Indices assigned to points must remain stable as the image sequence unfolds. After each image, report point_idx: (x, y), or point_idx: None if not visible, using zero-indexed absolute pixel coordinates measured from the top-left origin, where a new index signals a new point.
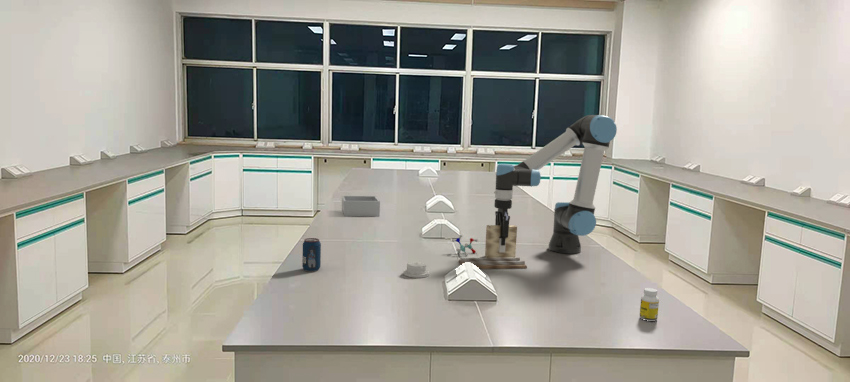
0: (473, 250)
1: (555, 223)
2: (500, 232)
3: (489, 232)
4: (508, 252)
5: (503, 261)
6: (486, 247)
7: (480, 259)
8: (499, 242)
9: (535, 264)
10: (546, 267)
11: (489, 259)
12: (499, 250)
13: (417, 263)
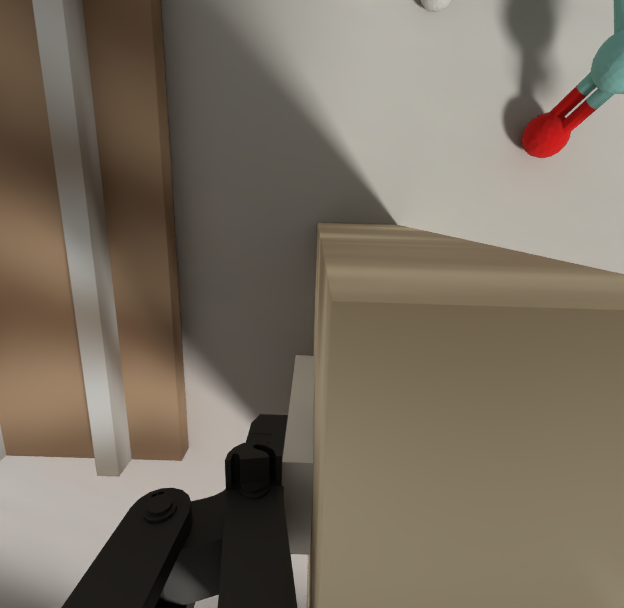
0: (549, 122)
1: None
2: (291, 562)
3: (323, 284)
4: None
5: None
6: (377, 229)
7: (44, 38)
8: (305, 414)
9: (89, 541)
10: (6, 579)
11: (61, 159)
12: (295, 365)
13: None
